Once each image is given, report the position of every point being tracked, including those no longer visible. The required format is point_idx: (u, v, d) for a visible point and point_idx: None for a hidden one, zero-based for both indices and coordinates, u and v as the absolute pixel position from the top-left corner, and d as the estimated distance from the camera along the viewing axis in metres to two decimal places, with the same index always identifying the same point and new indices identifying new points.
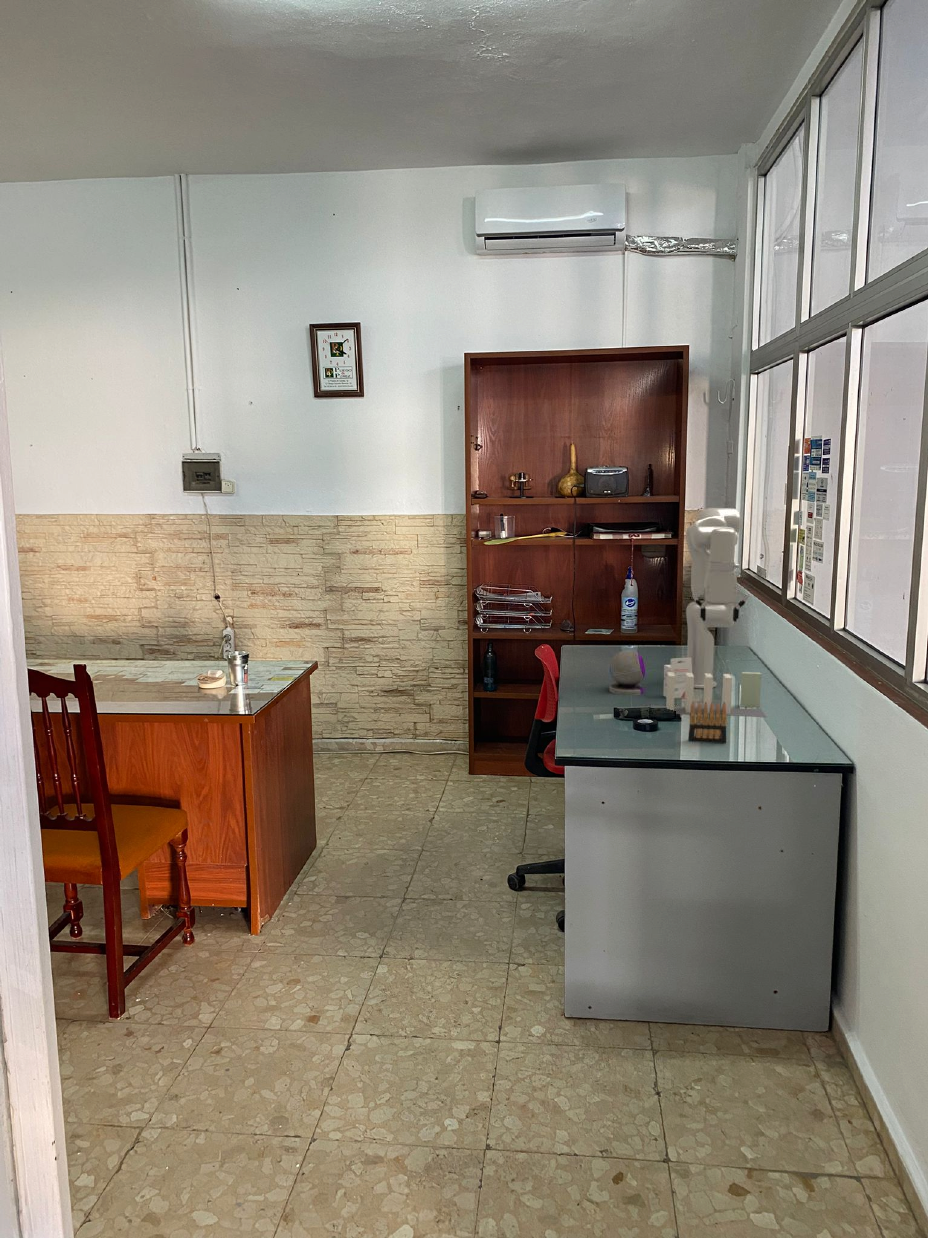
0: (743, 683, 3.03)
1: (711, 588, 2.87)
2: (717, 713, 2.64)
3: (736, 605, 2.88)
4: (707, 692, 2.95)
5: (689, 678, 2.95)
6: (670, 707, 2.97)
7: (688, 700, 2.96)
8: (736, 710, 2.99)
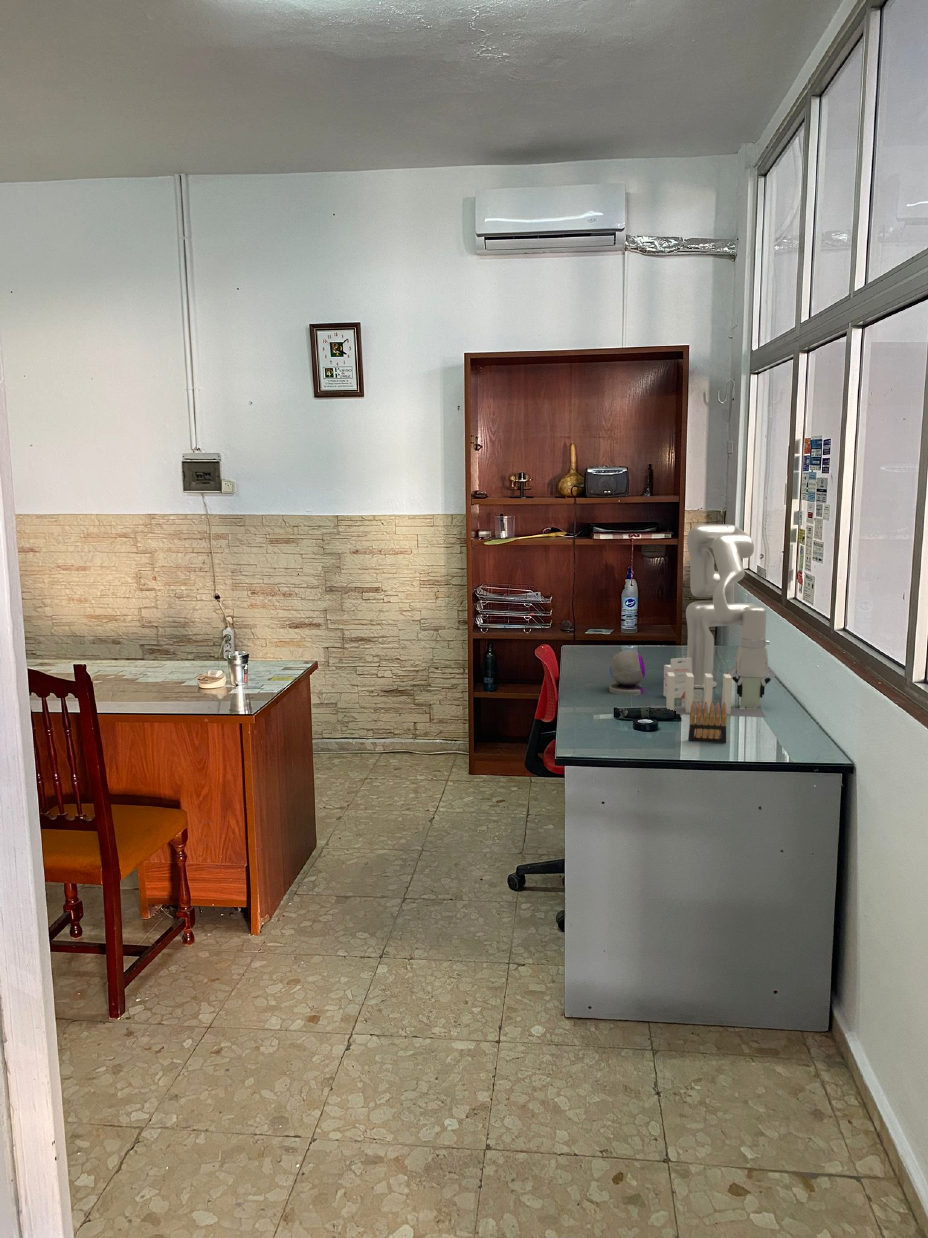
0: (743, 683, 3.03)
1: (743, 663, 3.01)
2: (717, 713, 2.64)
3: (762, 682, 3.02)
4: (707, 692, 2.95)
5: (689, 678, 2.95)
6: (670, 707, 2.97)
7: (688, 700, 2.96)
8: (736, 710, 2.99)
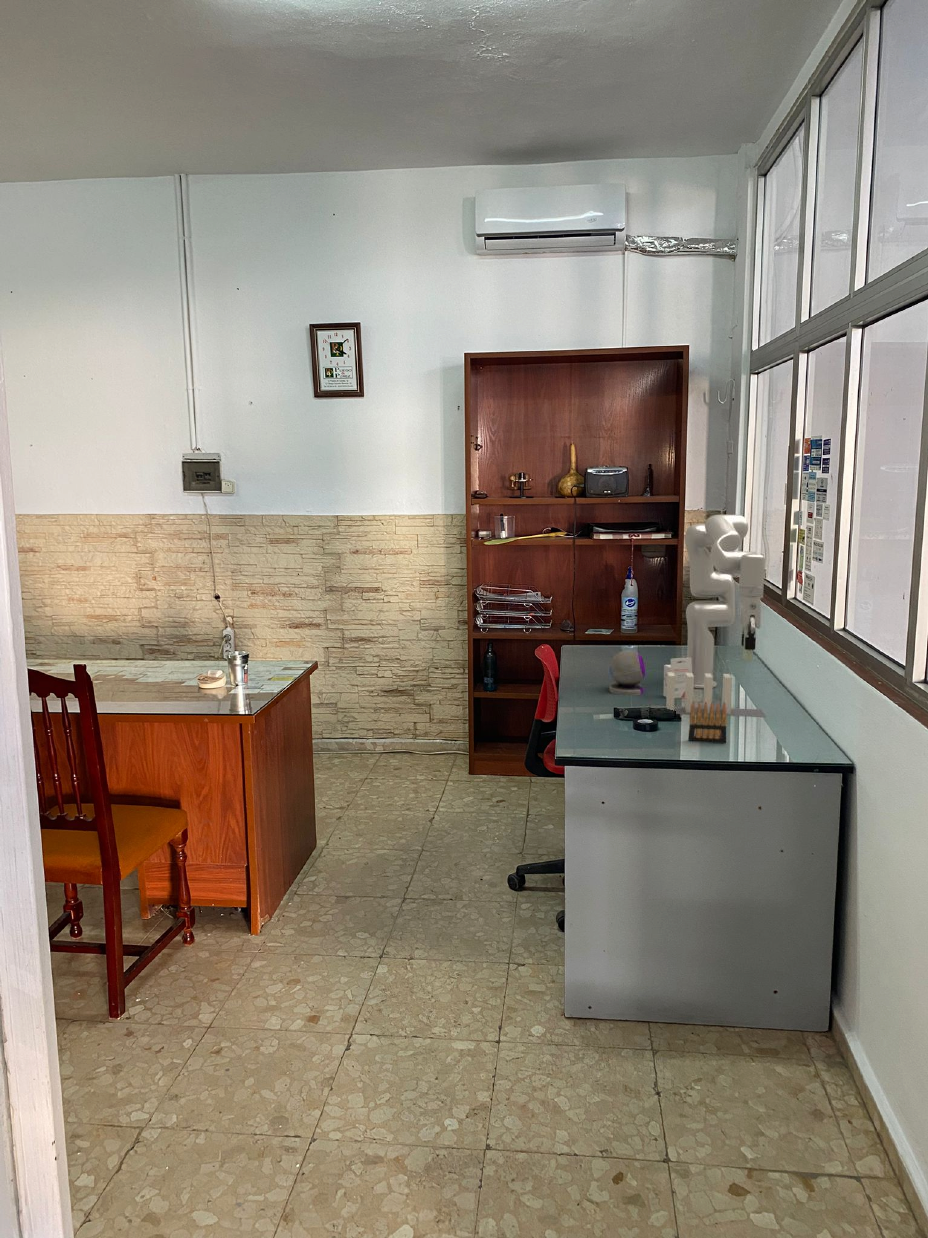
0: (744, 632, 2.96)
1: None
2: (717, 713, 2.64)
3: (746, 633, 2.90)
4: (707, 692, 2.95)
5: (689, 678, 2.95)
6: (670, 707, 2.97)
7: (688, 700, 2.96)
8: (736, 710, 2.99)
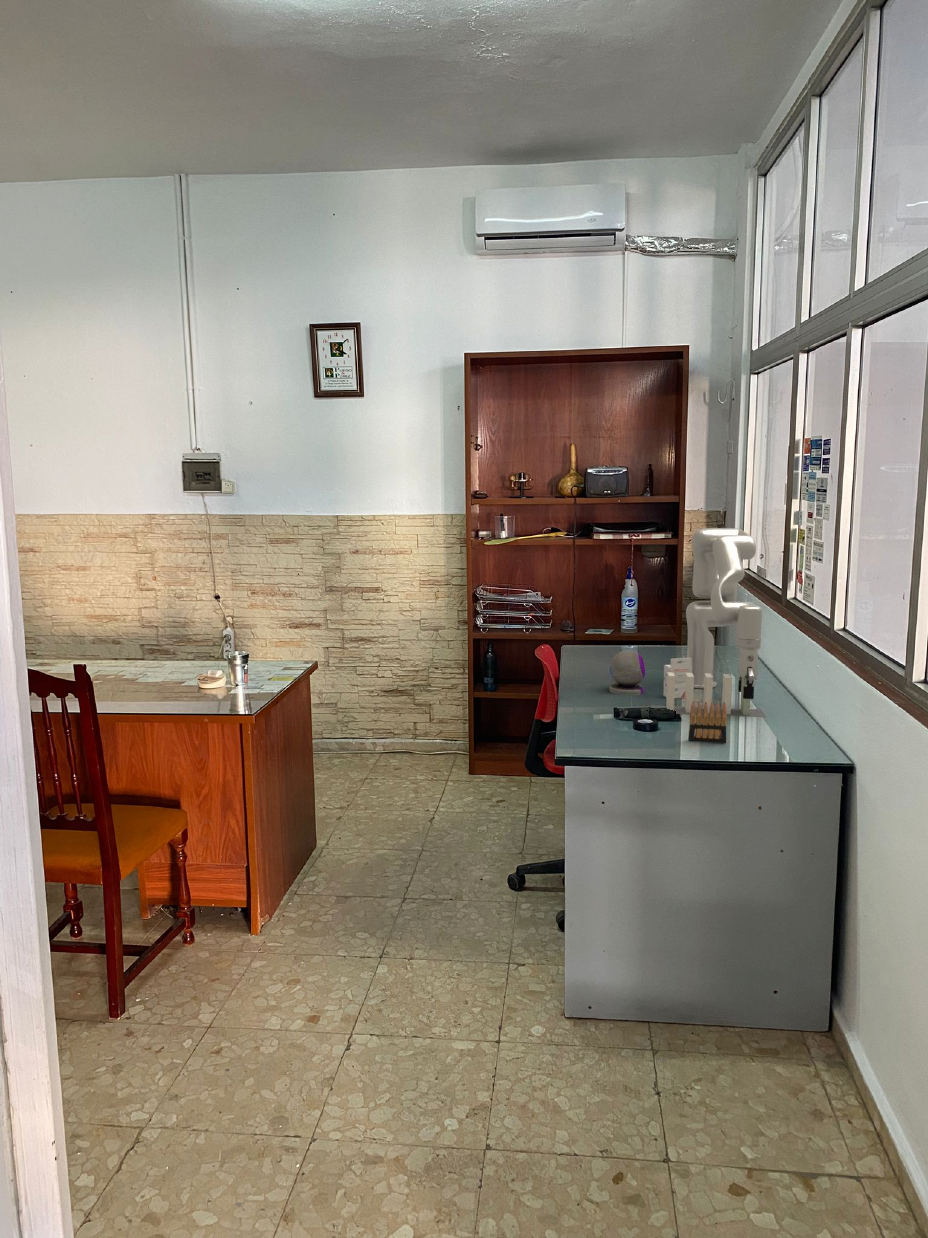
0: (741, 685, 2.98)
1: None
2: (717, 713, 2.64)
3: (744, 682, 2.91)
4: (707, 692, 2.95)
5: (689, 678, 2.95)
6: (670, 707, 2.97)
7: (688, 700, 2.96)
8: (736, 710, 2.99)
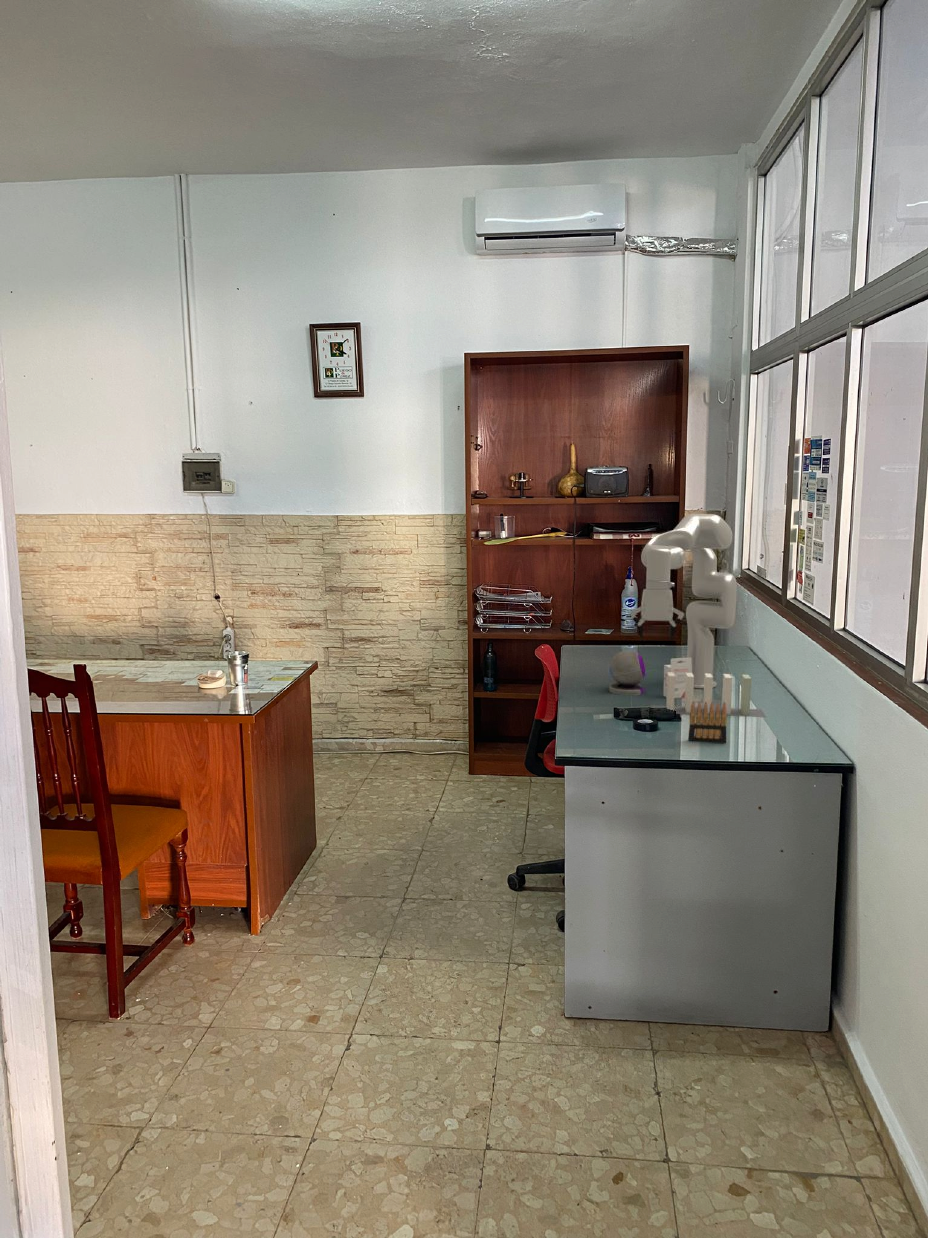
0: (741, 685, 2.98)
1: (647, 606, 2.94)
2: (717, 713, 2.64)
3: (672, 623, 2.94)
4: (707, 692, 2.95)
5: (689, 678, 2.95)
6: (670, 707, 2.97)
7: (688, 700, 2.96)
8: (736, 710, 2.99)
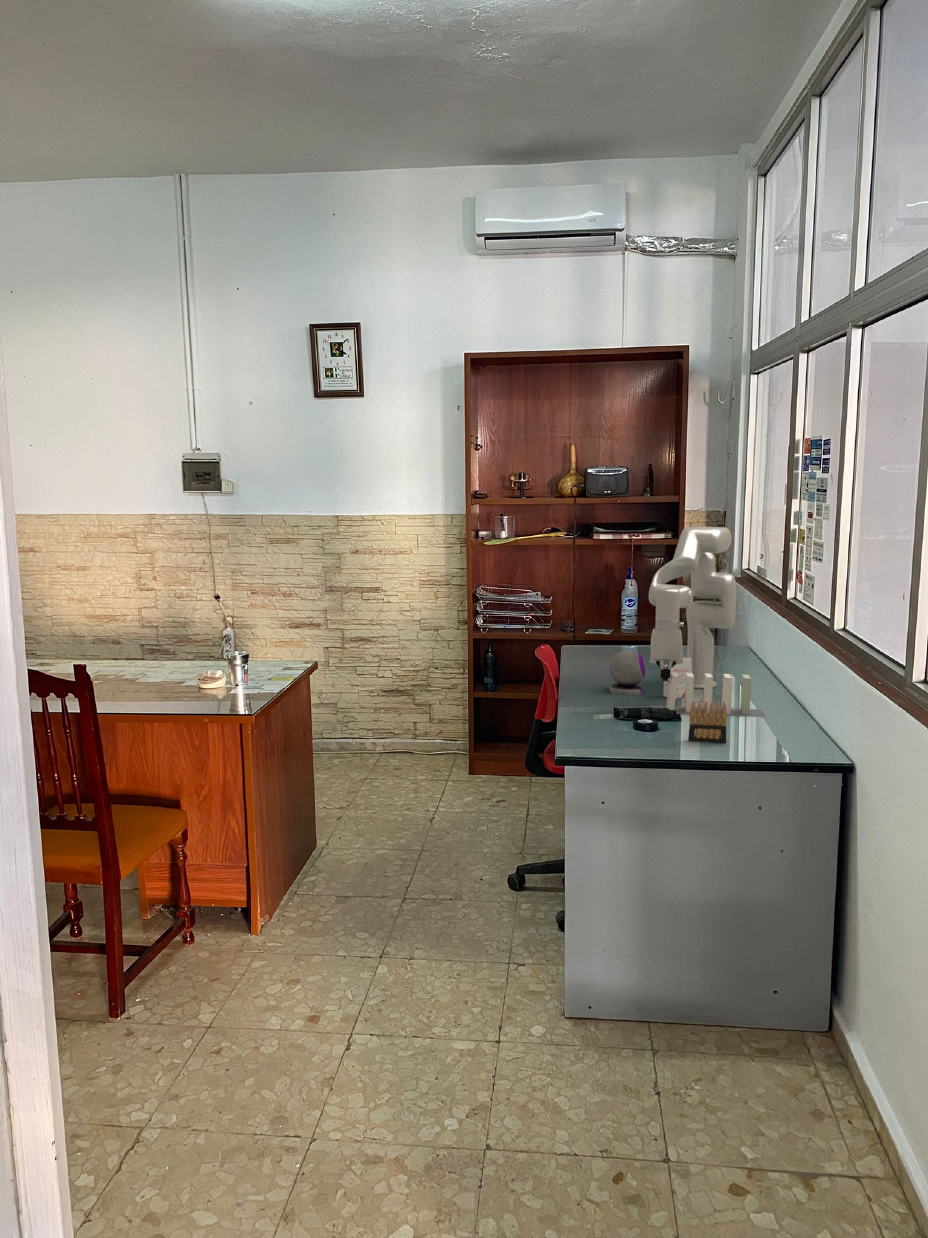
0: (741, 685, 2.98)
1: (657, 646, 2.95)
2: (717, 713, 2.64)
3: (667, 665, 2.97)
4: (707, 692, 2.95)
5: (689, 678, 2.95)
6: (670, 707, 2.97)
7: (688, 700, 2.96)
8: (736, 710, 2.99)
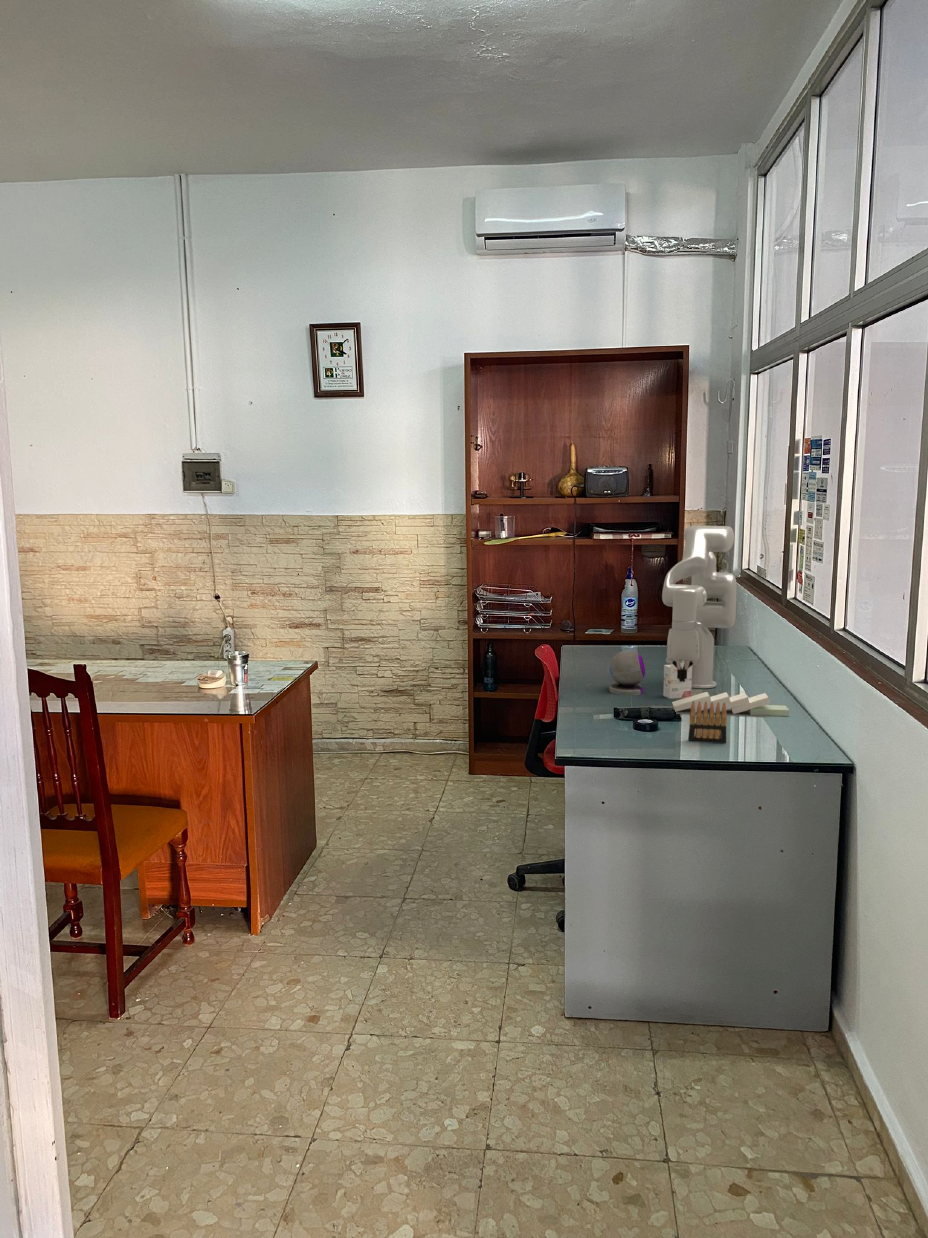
0: (774, 705, 2.98)
1: (674, 646, 2.95)
2: (717, 713, 2.64)
3: (684, 666, 2.96)
4: (732, 703, 2.94)
5: (727, 698, 2.94)
6: (678, 707, 2.97)
7: None
8: None
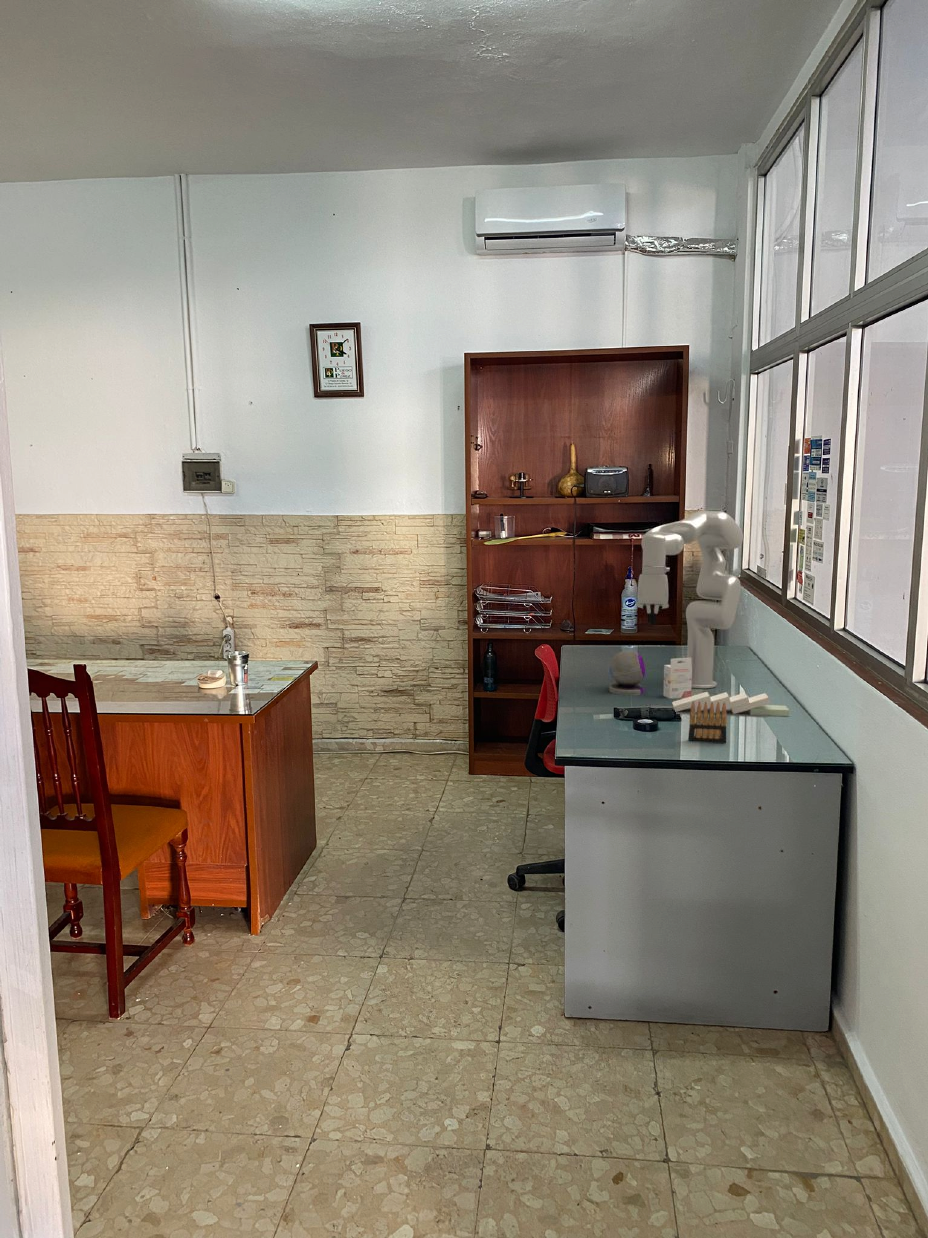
0: (774, 705, 2.98)
1: (644, 590, 3.05)
2: (717, 713, 2.64)
3: (654, 610, 3.07)
4: (732, 703, 2.94)
5: (727, 698, 2.94)
6: (678, 707, 2.97)
7: None
8: None
